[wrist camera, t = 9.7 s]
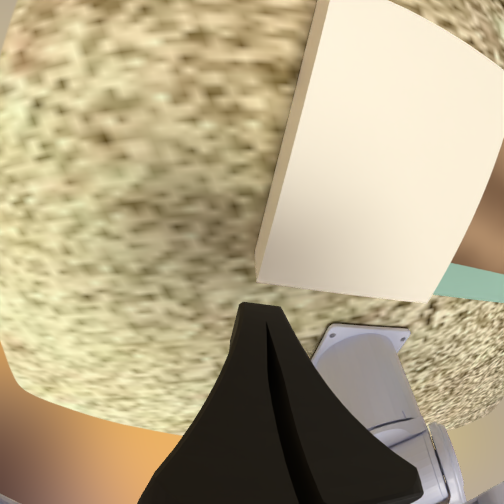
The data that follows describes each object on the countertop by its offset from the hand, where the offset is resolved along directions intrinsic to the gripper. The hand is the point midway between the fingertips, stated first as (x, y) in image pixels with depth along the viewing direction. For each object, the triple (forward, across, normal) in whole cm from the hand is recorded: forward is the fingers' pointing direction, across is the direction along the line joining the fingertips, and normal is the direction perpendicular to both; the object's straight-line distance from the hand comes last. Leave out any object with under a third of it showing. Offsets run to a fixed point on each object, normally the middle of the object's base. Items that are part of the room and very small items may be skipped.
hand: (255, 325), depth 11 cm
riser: (+9, -7, -5) cm, 13 cm away
